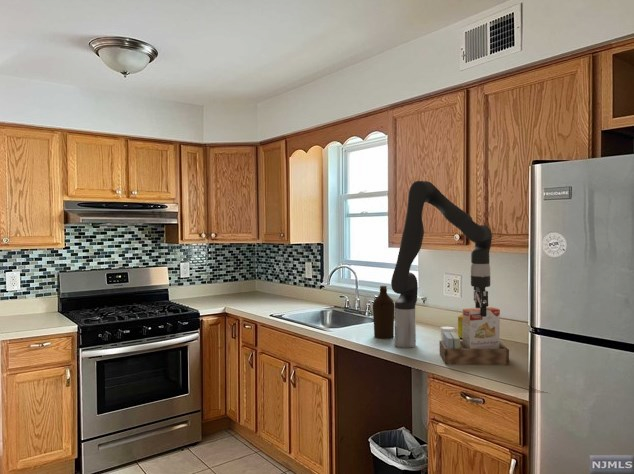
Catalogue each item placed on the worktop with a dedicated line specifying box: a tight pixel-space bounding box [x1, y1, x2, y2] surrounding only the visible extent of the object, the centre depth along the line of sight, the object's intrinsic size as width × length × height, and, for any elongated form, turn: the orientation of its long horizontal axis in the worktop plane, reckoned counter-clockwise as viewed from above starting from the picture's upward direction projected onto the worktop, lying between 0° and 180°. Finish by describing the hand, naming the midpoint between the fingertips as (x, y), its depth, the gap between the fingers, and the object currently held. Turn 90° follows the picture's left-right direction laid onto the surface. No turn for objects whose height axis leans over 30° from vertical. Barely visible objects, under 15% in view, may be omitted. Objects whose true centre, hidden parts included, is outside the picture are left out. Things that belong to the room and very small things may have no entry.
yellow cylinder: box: [457, 314, 463, 340], centre depth 236 cm, size 6×6×11 cm
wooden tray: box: [439, 340, 510, 366], centre depth 201 cm, size 24×14×6 cm, turn 85°
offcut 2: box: [450, 331, 461, 349], centre depth 201 cm, size 2×11×10 cm, turn 175°
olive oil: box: [372, 285, 395, 340], centre depth 242 cm, size 11×11×25 cm
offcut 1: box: [443, 332, 454, 349], centre depth 202 cm, size 2×11×10 cm, turn 175°
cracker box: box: [461, 306, 501, 349], centre depth 200 cm, size 14×6×21 cm, turn 106°
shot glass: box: [439, 325, 456, 341], centre depth 229 cm, size 7×7×7 cm
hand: (480, 314), depth 200 cm, fingers open, 8 cm apart
